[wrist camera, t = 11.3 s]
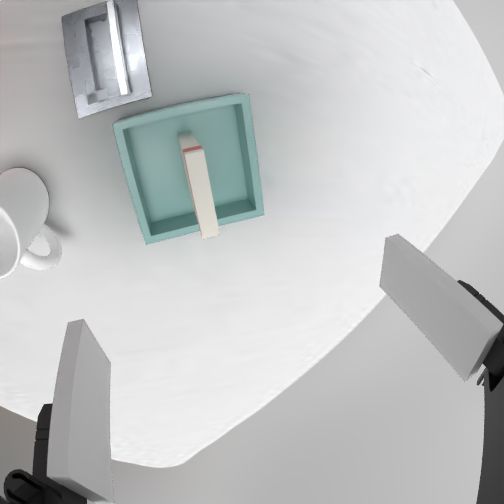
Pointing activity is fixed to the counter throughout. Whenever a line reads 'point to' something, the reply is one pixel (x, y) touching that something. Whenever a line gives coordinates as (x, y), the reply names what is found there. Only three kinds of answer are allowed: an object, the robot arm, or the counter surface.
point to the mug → (24, 222)
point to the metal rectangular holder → (105, 56)
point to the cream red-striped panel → (198, 184)
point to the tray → (172, 169)
